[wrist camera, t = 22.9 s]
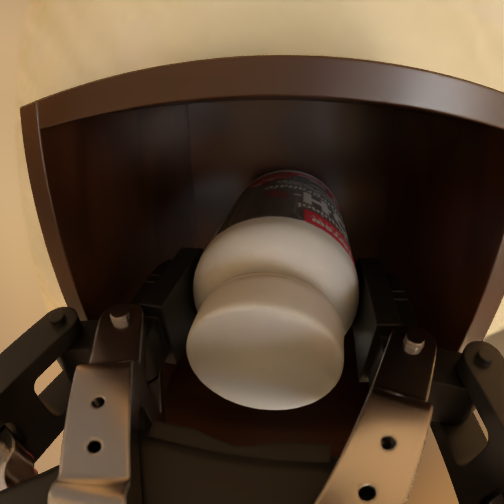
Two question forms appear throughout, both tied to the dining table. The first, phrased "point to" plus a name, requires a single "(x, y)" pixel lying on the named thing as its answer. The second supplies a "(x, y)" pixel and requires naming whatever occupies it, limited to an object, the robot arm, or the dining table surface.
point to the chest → (258, 164)
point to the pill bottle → (275, 296)
